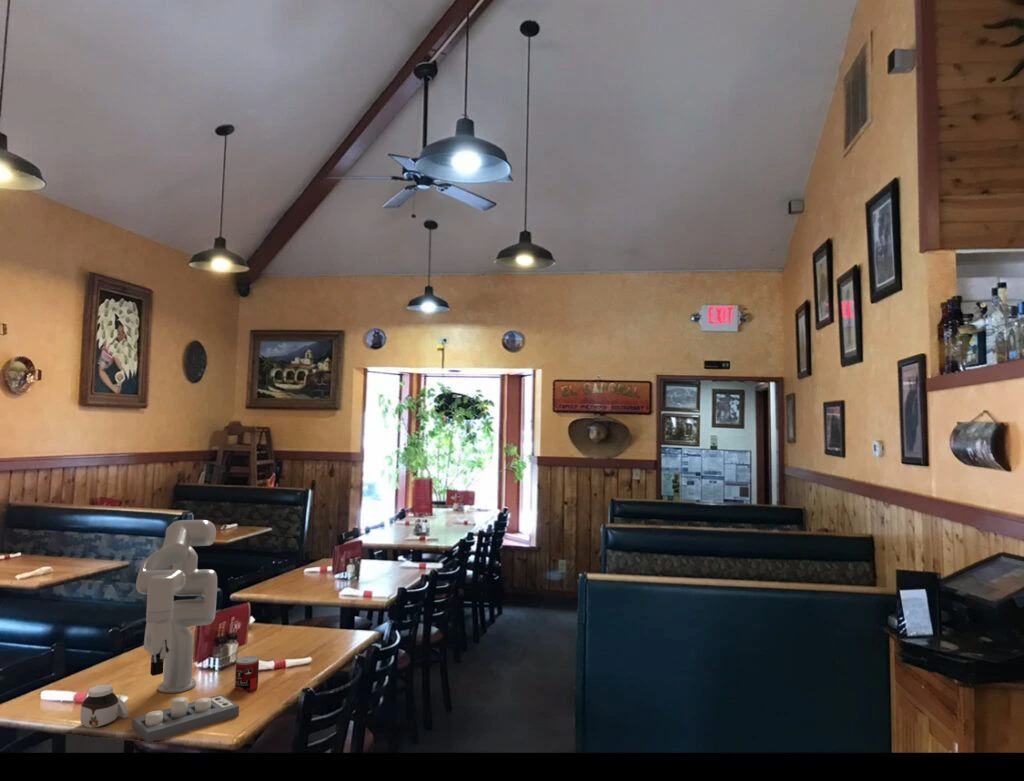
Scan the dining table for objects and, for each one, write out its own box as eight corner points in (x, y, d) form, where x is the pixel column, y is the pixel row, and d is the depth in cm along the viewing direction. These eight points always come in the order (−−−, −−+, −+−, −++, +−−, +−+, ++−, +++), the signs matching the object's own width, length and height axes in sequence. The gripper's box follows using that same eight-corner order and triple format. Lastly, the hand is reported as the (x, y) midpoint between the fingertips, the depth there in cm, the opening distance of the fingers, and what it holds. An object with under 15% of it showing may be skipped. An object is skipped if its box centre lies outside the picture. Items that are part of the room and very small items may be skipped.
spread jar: (75, 729, 211) (77, 691, 211) (102, 714, 222) (104, 679, 222) (108, 733, 209) (110, 695, 209) (134, 718, 220) (136, 681, 220)
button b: (168, 715, 214) (169, 699, 214) (183, 711, 217) (184, 695, 217) (173, 720, 210) (174, 704, 211) (189, 715, 214) (190, 700, 214)
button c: (142, 730, 208) (143, 713, 208) (158, 725, 212) (159, 709, 212) (148, 735, 205) (148, 718, 205) (164, 730, 208) (165, 713, 209)
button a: (192, 715, 219) (192, 700, 219) (206, 711, 222) (207, 696, 223) (197, 720, 216) (198, 704, 216) (212, 716, 219) (213, 700, 219)
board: (131, 731, 210) (132, 717, 210) (220, 706, 230) (221, 693, 231) (147, 746, 200) (148, 731, 201) (238, 718, 221) (239, 704, 221)
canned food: (230, 691, 243) (231, 661, 244) (246, 684, 250) (247, 654, 251) (246, 695, 240) (247, 664, 241) (262, 687, 247) (263, 657, 248)
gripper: (138, 612, 213) (135, 670, 212) (155, 622, 203) (152, 683, 202) (163, 608, 218) (160, 664, 217) (181, 617, 208) (178, 677, 207)
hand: (156, 673), depth 209 cm, fingers closed
